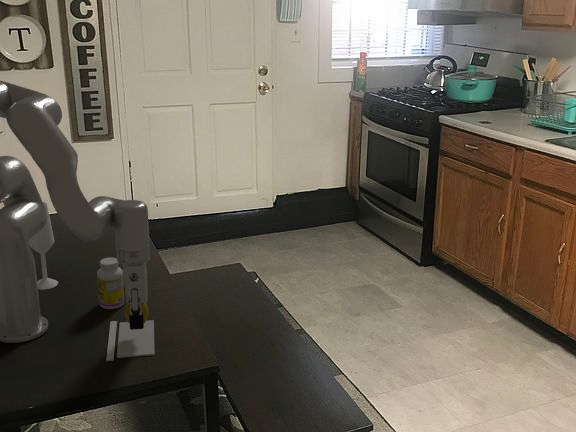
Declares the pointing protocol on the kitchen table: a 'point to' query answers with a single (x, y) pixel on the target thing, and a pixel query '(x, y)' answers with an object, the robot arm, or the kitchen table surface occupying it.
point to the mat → (135, 340)
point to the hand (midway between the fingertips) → (137, 321)
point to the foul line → (111, 341)
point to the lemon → (144, 311)
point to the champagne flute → (44, 250)
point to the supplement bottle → (110, 284)
